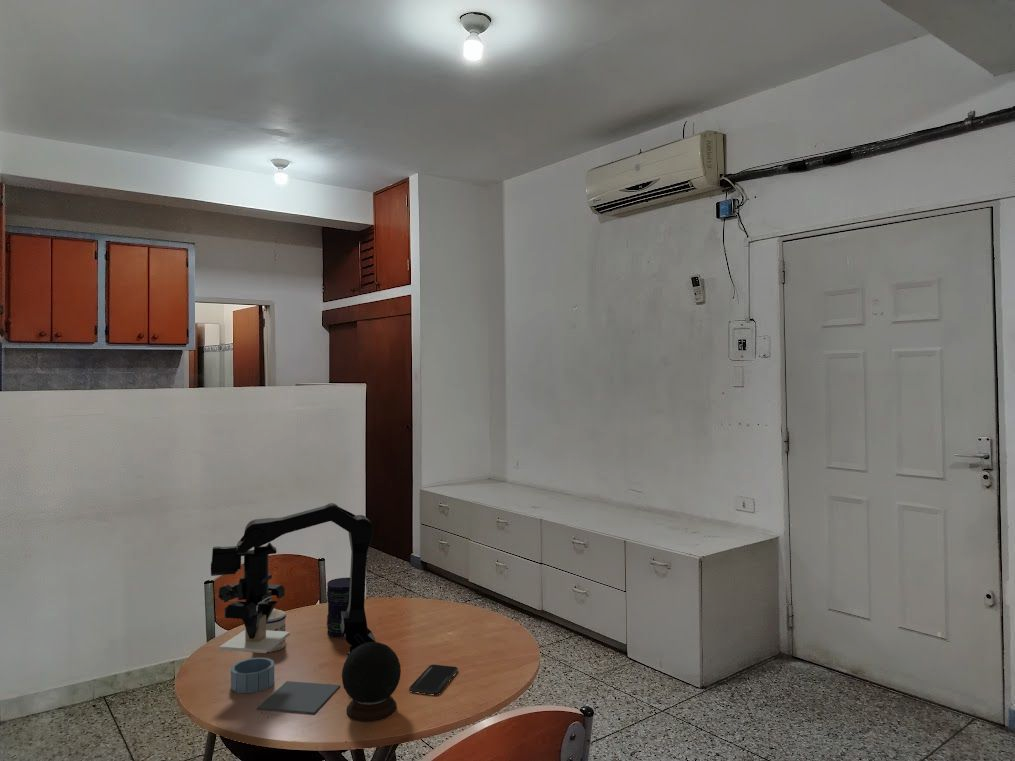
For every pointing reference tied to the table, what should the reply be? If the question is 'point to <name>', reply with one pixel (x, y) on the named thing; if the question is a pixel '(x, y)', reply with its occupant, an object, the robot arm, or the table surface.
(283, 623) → the teacup with lid
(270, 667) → the bowl
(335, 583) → the storage jar
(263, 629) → the lid
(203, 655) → the table surface
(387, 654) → the black ball on stand
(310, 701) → the mat
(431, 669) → the phone
